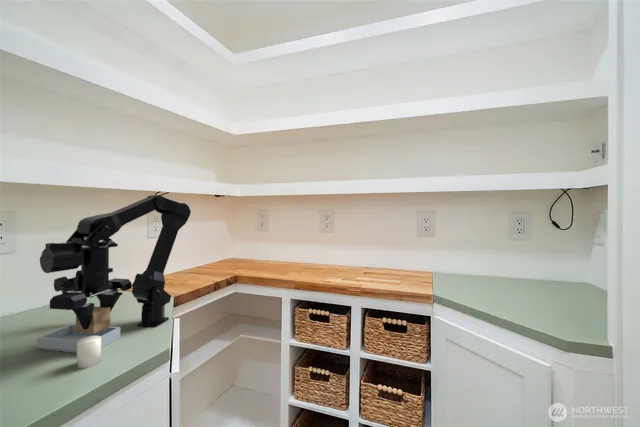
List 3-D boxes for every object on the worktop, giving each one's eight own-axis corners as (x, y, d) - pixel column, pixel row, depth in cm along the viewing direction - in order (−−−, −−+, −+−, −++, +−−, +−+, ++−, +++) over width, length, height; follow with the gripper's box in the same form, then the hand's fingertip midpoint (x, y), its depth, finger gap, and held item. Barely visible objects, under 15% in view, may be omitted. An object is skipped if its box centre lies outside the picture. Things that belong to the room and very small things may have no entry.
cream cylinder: (87, 358, 70) (87, 335, 70) (105, 358, 70) (105, 335, 70) (71, 368, 66) (71, 343, 65) (91, 368, 65) (91, 344, 65)
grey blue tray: (71, 334, 82) (71, 323, 82) (120, 338, 81) (120, 327, 81) (37, 349, 73) (37, 337, 73) (91, 354, 72) (91, 342, 72)
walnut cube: (93, 324, 79) (93, 306, 79) (110, 325, 79) (110, 307, 79) (76, 332, 74) (76, 312, 74) (93, 333, 74) (93, 314, 74)
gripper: (98, 258, 86) (97, 310, 87) (28, 271, 68) (28, 338, 68) (132, 259, 85) (132, 313, 85) (71, 274, 67) (71, 342, 67)
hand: (94, 325), depth 77 cm, fingers closed on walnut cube, 5 cm apart
